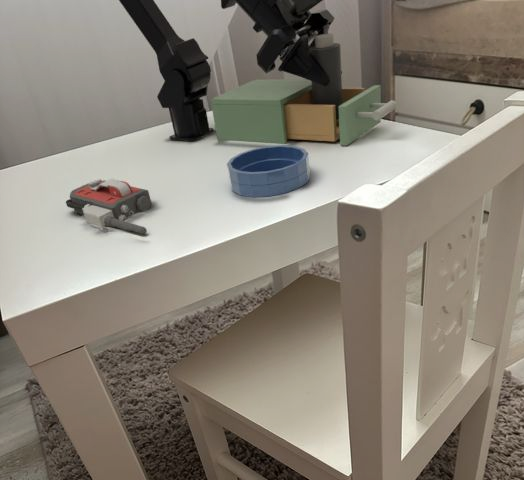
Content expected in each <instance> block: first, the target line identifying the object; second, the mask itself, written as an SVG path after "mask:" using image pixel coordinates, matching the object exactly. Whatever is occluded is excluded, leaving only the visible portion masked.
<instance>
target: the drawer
mask: <svg viewBox="0 0 524 480" xmlns="http://www.w3.org/2000/svg"><path fill="white" fill-rule="evenodd" d="M381 86H382V85H381V84H378V85H377V84H374V85H372V86H369V88H365V87H342V105H340V106H339V119H338V120H336V109H335V105H313V97H312V90H310V91H308V92H306V93H304V94H302V95H300V96H298V97H296V98H294V99H292V100H290V101H288V102H286V103H284V104H283V106H284V115H285V125H286V135H287V139H293V140H303V141H305V140H306V141H319V142H336V141H338V140H339V146H344V147H345V146H346V147H348V146H349V145H351V144H352V143H353V142H355V141H357V139H359V138H360V137H362V136H363V135H365V134H366V133H367V132H369V131H370V130H372V129H373V128H374V127H375V126H377V125H378V124H380V123H382V122H381V119H383V118H384V117H385V116H387V115H388V114H390V113H391V112H392V111H394V110H395V109H396V108H397V102H396V101H395V100H393V99H392V100H389V101H388V102H382V101H381V100H382V99H381V98H382V97H381V96H382V95H381V93H382V90H381V89H382V87H381Z"/></svg>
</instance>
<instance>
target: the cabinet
mask: <svg viewBox="0 0 524 480" xmlns="http://www.w3.org/2000/svg"><path fill="white" fill-rule="evenodd" d="M310 90H312V82H311V81H310V80H308V79H305V78H286V79H284V78H281V79H279V78H277V79H275V78H274V79H273V78H272V79H270V78H269V79H253V80H250V81H248V82H246V83H243V84H242V85H239V86H237V87H235V88H233V89H230V90H228V91H225V92H223V93H221V94H218V95H216V96H214V97H211V98H210V99H209V100H210V104H211V110H212V116H213V122H214V127H215V132H216V137H217V144H218V145H219V144H221V143H223V142H224V141H232V142H247V143H260V144H261V143H263V144H277V145H279V144H280V145H286V144H288V143H290V142H291V141H293V140H294V139H287V135H286V125H285V115H284V106H283V104H284V103H286V102H288V101H290V100H292V99H294V98H296V97H298V96H300V95H302V94H304V93H306V92H308V91H310Z"/></svg>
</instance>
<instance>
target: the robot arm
mask: <svg viewBox="0 0 524 480" xmlns="http://www.w3.org/2000/svg"><path fill="white" fill-rule="evenodd" d="M118 1H119V3H120V4H121V6H122V7H123V9H124V10H125V11H126V13H127V15H128V16H129V17H130V18H131V20H132V21H133V23H134V24H135V25H136V27H137V28H138V30H139V31H140V33H141V34H142V35H143V37H144V38H145V40H146V41H147V43H148V44H149V45H150V47H151V48H152V50H153V51H154V52H155V54H156V59H157V65H158V69H159V73H160V75H161V77H162V79H163V81H164V82H163V84H162V86H161V88H160V90H159V92H158V93H157V96H156V97H157V100H158V102H159V104H160V105H161V107H162V109H168V111H169V116H170V121H171V125H172V129H173V134H171V135H170V136H169V140H172V141H173V140H176V141H186V142H188V141H189V142H194V141H197V140H199V139H201V138H202V137H205V136H207V135H209V134H211V133H213V132H214V131H215V129H214V127H210V124H209V118H208V113H207V109H206V108H205V105H204V99H202V98H203V97H206V96H208V87H209V84H210V80H211V78H212V77H211V72H212V68H211V66H210V63H209V62H208V61H207V60H208V59H209V57H208V56H207V55H206V54H205V53H204V52H203V50H202V49H201V47H200V45H199V43H198V41H197V40H196V39H195V38H193V37H192V38H189V39H187V40H185V39H183V38H181V37H180V36H179V35H178V34H177V32H176V31H175V30H174V28H173V26H172V25H171V24H170V22H169V21H168V19H167V18H166V16H165V15H164V14H163V12H162V10H161V9H160V7H159V6H158V5H157V3H156V2H155V0H118ZM321 2H323V0H220V8H221V9H222V10H225V9H228V8H232V7H235V6H236V4H237V6H239V8H240V9H241V10H242V11H243V12H244V13H245V14H246V15H247V17H249V18H250V19H251V20H252V22H253V23H254V25H253V27H252V29H253V30H254V32H256V34H258V33H260V32H263V34H265V36H266V39H265V40H264V42H263V44H262V45H261V47H260V48H259V49H258V52H257V53H256V54H255V56H256V64H257V66H258V67H259V68H261V70H262V71H263V72H264V73H265V74H269V73H270V72H272V71H274V70H275V69H276V63H275V62H276V60H277V59H278V58H279V60H280V61H281V64H280V65H279V67H278V68H277V71H278V72H284V73H287V74H291V75H293V76H296V77H299V78H301V79H308V80H310V81H313V82H316V83H318V84H321V85H324V86H327V85H328V84H329V82H330V79H329V77H328V76H327V74H326V72H325V71H324V70H323V68H322V67H321V66H320V64H319V63H318V61H317V60H316V59H315V57H314V56H313V55H312V53H311V52H310V50H309V48H311V47H313V46H315V36H317V35H321V34H329V30H330V26H331V25H332V24H333V22H334V21H335V16H333V14H332V13H331V12H330V10H328V9H326V8H325V9H318V10H317V11H314V12H311V11H310V10H312V9H313V8H314V7H316V6H317V5H318V4H320V3H321ZM342 74H343V70H341V75H342Z"/></svg>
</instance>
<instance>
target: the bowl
mask: <svg viewBox="0 0 524 480" xmlns="http://www.w3.org/2000/svg"><path fill="white" fill-rule="evenodd" d="M226 167H227V174H228V179H229V186H230V188H231V191H232V192H233V193H235V194H237V195H239V196H242V197H243V196H244V197H251V198H261V197H262V198H263V197H273V196H279V195H283V194H286V193H290V192H291V191H295V190H298V189H300V188H301V187H303V186H305V184H307V183H309V179H310V177H311V171H310V156H309V152H308V151H307V150H306V149H305V148H302V147H299V146H296V145H286V144H280V145H279V144H277V145H268V146H262V147H257V148H252V149H249V150H247V151H243V152H240V153H238V154H236V155H235V156H232V157H231V158H230V159H229V161H228V162H227V163H226Z"/></svg>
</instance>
